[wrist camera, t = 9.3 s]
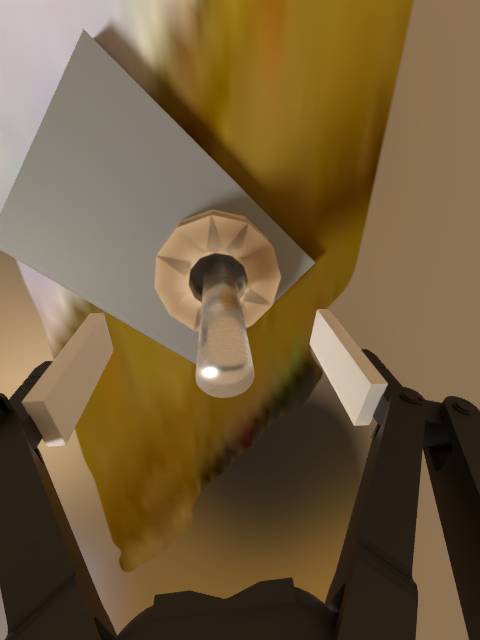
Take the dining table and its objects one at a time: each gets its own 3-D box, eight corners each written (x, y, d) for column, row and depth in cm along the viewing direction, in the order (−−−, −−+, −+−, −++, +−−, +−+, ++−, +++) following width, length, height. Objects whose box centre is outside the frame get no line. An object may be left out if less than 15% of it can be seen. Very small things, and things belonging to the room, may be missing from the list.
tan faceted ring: (138, 276, 26) (130, 289, 23) (209, 182, 22) (208, 184, 19) (224, 334, 30) (225, 351, 28) (295, 264, 26) (303, 275, 24)
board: (-1, 238, 24) (-13, 242, 23) (92, 38, 18) (83, 29, 17) (205, 361, 34) (205, 369, 32) (310, 258, 28) (315, 262, 26)
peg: (198, 273, 26) (183, 381, 13) (217, 250, 25) (221, 343, 12) (221, 290, 27) (228, 405, 14) (240, 269, 26) (266, 372, 13)
